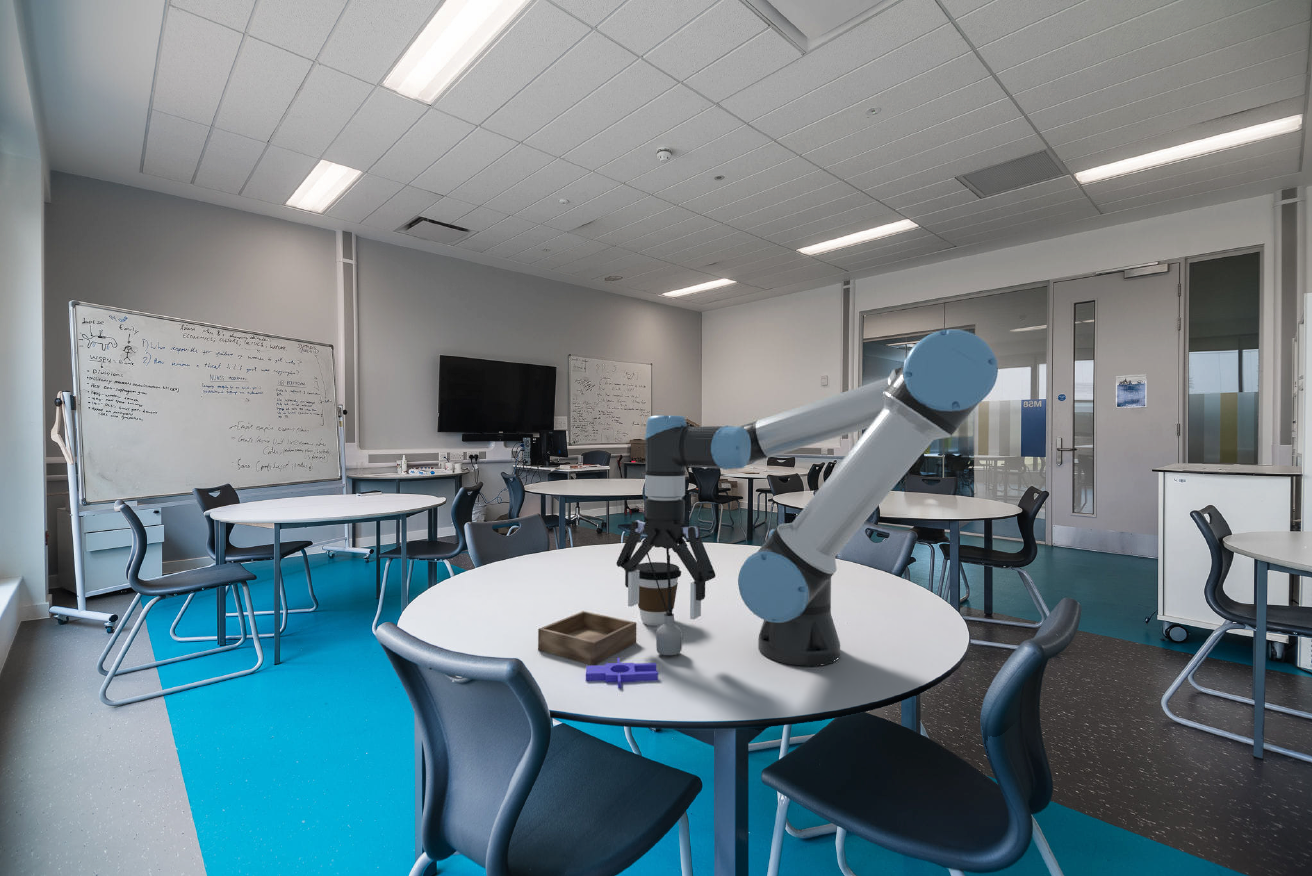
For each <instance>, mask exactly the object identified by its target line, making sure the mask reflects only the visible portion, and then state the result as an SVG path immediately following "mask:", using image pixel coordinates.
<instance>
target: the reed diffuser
mask: <svg viewBox="0 0 1312 876" xmlns="http://www.w3.org/2000/svg"><path fill="white" fill-rule="evenodd" d="M646 553H647V555H646V556H647V558H648V563H649V562H650V565H651V568H652V571H653V574H654V577H655V580H656V583H657V586H658V589H659V592H660V595H661V598H662V601H663V604H664V607H665V609H666V612H667V613H666V614H664V624H663V625H661V626H658V628H657V629H656V632H655V643H656V644H655V646H656V647H655V648H656V653H658V654H660V655H664V656H675V655H679V654H680V653H681V652H682V649H683V635H682V630H681V628H679V626H678V625H676V624H675V614H674V613H673V611H672V600H671V582H670V563H671V554H670V549H666V563H667V573H668V611H667V608H666V605H665V602H664V599H663V596H662V593H661V590H660V587H659V584H658V581H657V578H656V575H655V572H654V569H653V566H652V564H651V562H652V561H651V558H650V556H649V552H647V551H646Z"/></svg>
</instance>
